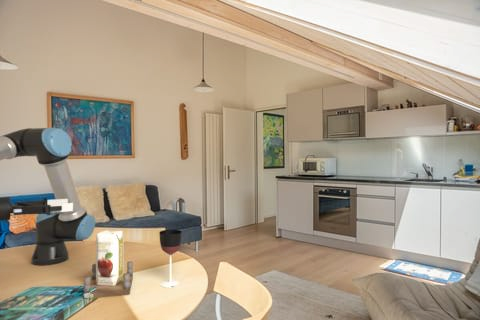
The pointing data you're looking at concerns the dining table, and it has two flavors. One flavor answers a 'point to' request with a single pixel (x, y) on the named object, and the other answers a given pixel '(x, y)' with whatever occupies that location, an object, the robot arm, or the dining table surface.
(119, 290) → the peg plinth
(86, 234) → the robot arm
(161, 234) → the wineglass
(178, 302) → the dining table surface
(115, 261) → the juice carton
